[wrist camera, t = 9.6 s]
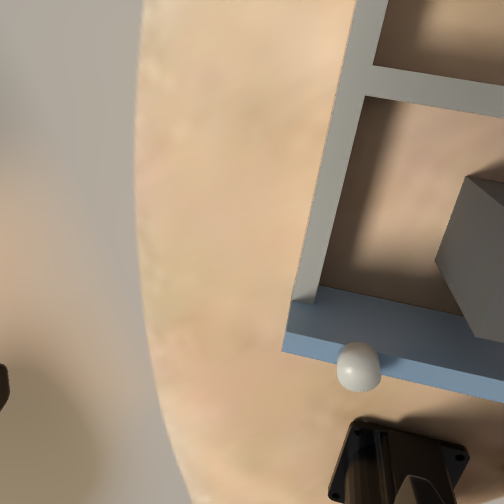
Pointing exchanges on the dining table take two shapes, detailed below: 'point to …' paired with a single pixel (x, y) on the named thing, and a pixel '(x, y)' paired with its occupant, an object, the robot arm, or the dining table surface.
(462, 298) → the grey cube with knob
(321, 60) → the dining table surface
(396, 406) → the dining table surface
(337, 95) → the organiser
